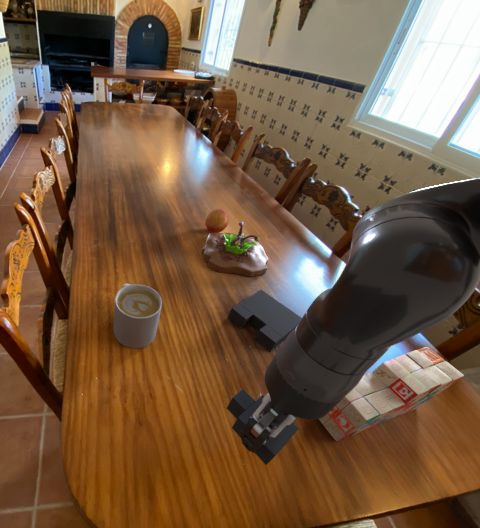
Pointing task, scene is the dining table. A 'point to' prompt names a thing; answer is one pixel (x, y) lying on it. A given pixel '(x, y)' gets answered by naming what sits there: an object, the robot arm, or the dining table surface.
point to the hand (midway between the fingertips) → (261, 431)
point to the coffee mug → (136, 315)
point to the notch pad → (265, 319)
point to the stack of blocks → (390, 392)
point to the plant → (235, 253)
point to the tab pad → (244, 409)
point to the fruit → (216, 221)
